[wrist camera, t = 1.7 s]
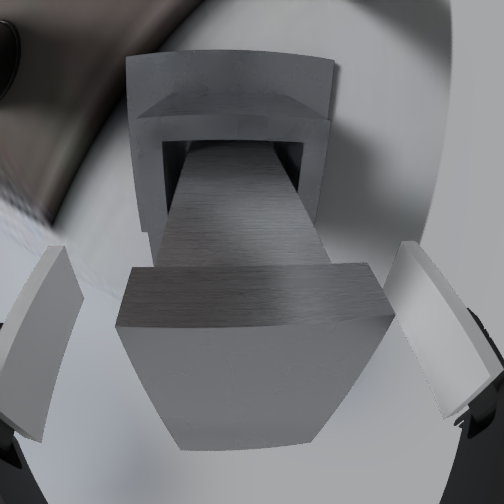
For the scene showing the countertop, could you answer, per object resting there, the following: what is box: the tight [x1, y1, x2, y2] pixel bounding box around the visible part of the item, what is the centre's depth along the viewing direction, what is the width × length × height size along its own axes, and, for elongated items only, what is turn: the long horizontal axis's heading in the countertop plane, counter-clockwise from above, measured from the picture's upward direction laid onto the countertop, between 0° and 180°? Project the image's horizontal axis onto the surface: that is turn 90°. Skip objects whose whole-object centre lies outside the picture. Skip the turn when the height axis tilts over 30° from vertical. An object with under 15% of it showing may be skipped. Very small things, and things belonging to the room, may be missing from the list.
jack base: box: [126, 50, 334, 267], centre depth 19 cm, size 16×16×12 cm
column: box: [115, 140, 396, 451], centre depth 14 cm, size 7×4×20 cm, turn 177°
